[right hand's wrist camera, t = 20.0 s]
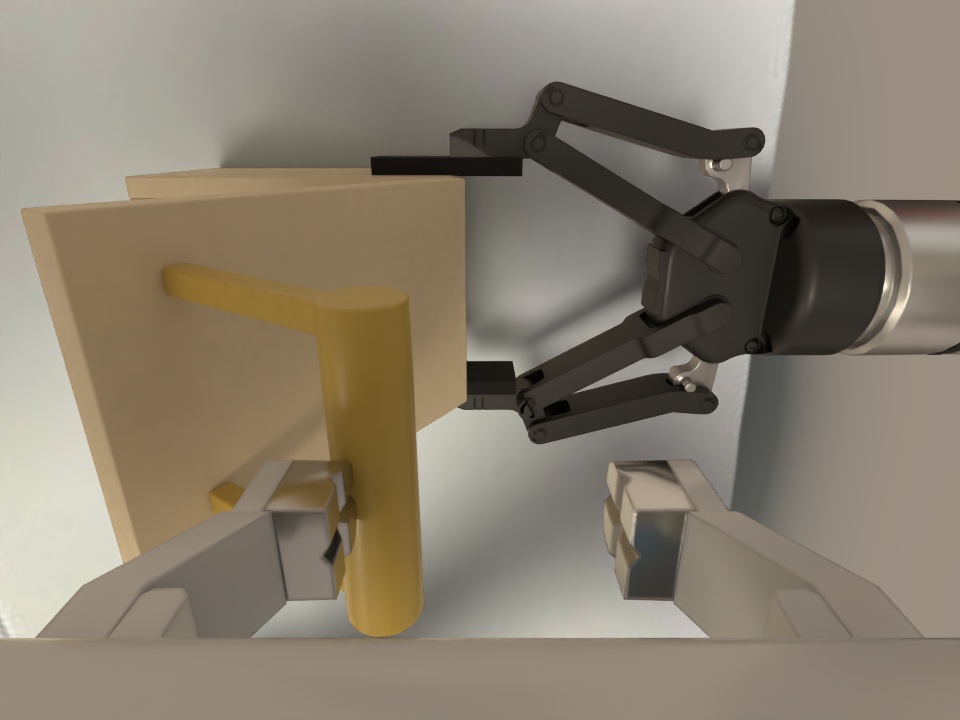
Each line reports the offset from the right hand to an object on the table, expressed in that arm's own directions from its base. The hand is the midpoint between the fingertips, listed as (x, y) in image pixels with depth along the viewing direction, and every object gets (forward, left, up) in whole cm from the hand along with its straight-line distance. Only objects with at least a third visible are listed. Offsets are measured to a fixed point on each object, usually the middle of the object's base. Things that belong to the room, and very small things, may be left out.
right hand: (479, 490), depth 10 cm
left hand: (-3, -3, -18) cm, 18 cm away
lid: (-4, -4, -9) cm, 11 cm away
